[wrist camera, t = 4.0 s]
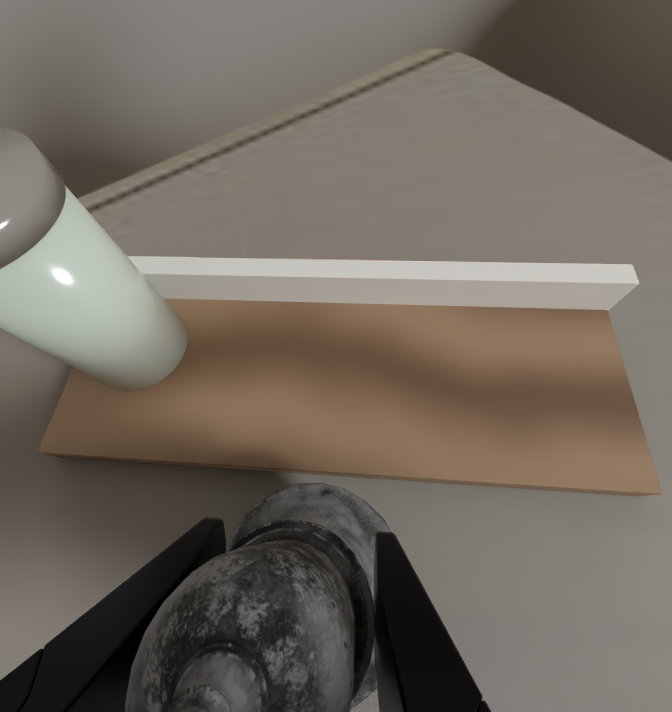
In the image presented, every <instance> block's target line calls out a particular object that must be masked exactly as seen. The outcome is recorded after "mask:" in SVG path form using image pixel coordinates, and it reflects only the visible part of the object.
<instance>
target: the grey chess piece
mask: <svg viewBox="0 0 672 712" xmlns="http://www.w3.org/2000/svg"><path fill="white" fill-rule="evenodd" d="M378 531H381V532H391V530H390V529H389V527H388V525H387V524H386V522H385V520H384V519H383V518H382V517H381V516H380V515H379V514H378V513H377V512H376V511H375V510H374V509H373V508H372V507H371V506H370V505H369V504H368V503H367V502H366V501H365V500H363V499H361V498H360V497H358V496H356V495H354V494H353V493H351V492H349V491H347V490H346V489H344V488H340V487H336V486H332V485H328V484H324V483H307V484H296V485H293V486H290V487H287V488H284V489H281V490H277V491H275V492H274V493H272V494H271V495H269V496H267V497H266V498H264V499H263V500H261V501H260V502H258V503H256V504H255V505H254V506H253V507H252V508H251V509H250V510H249V511H248V512H247V514H246V515H245V516H244V517H243V518H242V519H241V520H240V521H239V522H238V523H237V525H236V526H235V528H234V530H233V532H232V533H231V535H230V537H229V538H228V540H227V542H226V553H224V554H221V555H218V556H216V557H214V558H213V559H211V560H210V561H208V562H207V563H205V564H204V565H202V566H201V567H199V568H198V569H196V570H195V571H193V572H192V573H191V574H190V575H189V576H188V577H187V578H186V579H185V580H184V581H183V582H182V583H181V584H180V585H179V586H178V587H177V588H176V589H175V590H174V591H173V593H172V594H171V595H170V596H169V597H168V598H167V599H166V600H165V601H164V602H163V604H162V605H161V607H160V608H159V610H158V612H157V613H156V615H155V616H154V618H153V620H152V621H151V623H150V625H149V626H148V628H147V629H146V631H145V633H144V636H143V638H142V641H141V644H140V646H139V649H138V651H137V654H136V657H135V659H134V662H133V664H132V668H131V673H130V679H129V684H128V690H127V695H126V701H125V712H349V711H350V710H352V709H353V708H354V707H355V706H357V705H358V704H359V703H360V702H362V701H363V700H364V699H365V698H367V697H368V696H369V695H370V694H372V693H373V692H374V691H375V690H376V689H377V678H376V667H375V656H374V637H375V614H374V552H375V536H376V533H377V532H378Z"/></svg>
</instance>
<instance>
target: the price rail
mask: <svg viewBox="0 0 672 712" xmlns="http://www.w3.org/2000/svg"><path fill="white" fill-rule="evenodd" d="M127 257H128V258H129V259H130V260H131V262H132V263H133V264H134V265H135V266H136V267H137V268H138V270H139V271H140V272H141V273H142V274H143V275H144V276H145V278H146V279H147V280H148V281H149V282H150V283H151V284H152V286H153V287H154V288H155V289H156V290H157V291H158V292H159V294H160V295H161V296H162V297H163V298H168V299H206V300H244V301H282V302H320V303H358V304H396V305H435V306H473V307H511V308H549V309H587V310H607V311H608V310H609V309H610V308H612V307H613V306H614V305H615V304H616V303H617V302H619V301H620V300H621V299H622V298H623V297H624V296H626V295H627V294H628V293H629V292H630V291H631V290H633V289H634V288H635V287H636V286H637V285H638V284H639V281H638V279H637V276H636V273H635V270H634V268H633V265H627V264H564V263H501V262H438V261H395V260H343V259H248V258H196V257H152V256H127Z"/></svg>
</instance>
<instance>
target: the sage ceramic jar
mask: <svg viewBox="0 0 672 712" xmlns="http://www.w3.org/2000/svg"><path fill="white" fill-rule="evenodd" d="M0 328H1V329H3V330H5V331H7V332H8V333H10V334H12V335H14V336H16V337H18V338H19V339H21V340H23V341H25V342H27V343H29V344H31V345H32V346H34V347H36V348H38V349H40V350H42V351H43V352H45V353H47V354H49V355H51V356H53V357H54V358H56V359H58V360H60V361H62V362H64V363H66V364H67V365H69V366H71V367H73V368H75V369H77V370H78V371H80V372H82V373H84V374H86V375H88V376H89V377H91V378H93V379H95V380H97V381H99V382H100V383H102V384H104V385H106V386H108V387H110V388H112V389H115V390H119V391H137V390H142V389H145V388H148V387H150V386H152V385H154V384H156V383H158V382H160V381H161V380H163V379H164V378H165V377H167V376H168V375H169V374H170V373H171V372H172V371H173V370H174V369H175V368H176V366H177V365H178V364H179V362H180V361H181V359H182V357H183V355H184V353H185V350H186V347H187V341H188V334H187V329H186V326H185V324H184V322H183V320H182V319H181V318H180V316H179V315H178V314H177V313H176V312H175V311H174V310H173V308H172V307H171V306H170V305H169V304H168V303H167V302H166V300H165V299H164V298H163V297H162V296H161V295H160V294H159V292H158V291H157V290H156V289H155V288H154V287H153V286H152V284H151V283H150V282H149V281H148V280H147V279H146V278H145V276H144V275H143V274H142V273H141V272H140V271H139V270H138V268H137V267H136V266H135V265H134V264H133V263H132V262H131V260H130V259H129V258H128V257H127V256H126V255H125V254H124V252H123V251H122V250H121V249H120V248H119V247H118V246H117V244H116V243H115V242H114V241H113V240H112V239H111V238H110V236H109V235H108V234H107V233H106V232H105V231H104V230H103V228H102V227H101V226H100V225H99V224H98V223H97V222H96V220H95V219H94V218H93V217H92V216H91V215H90V214H89V212H88V211H87V210H86V209H85V208H84V207H83V206H82V204H81V203H80V202H79V201H78V200H77V199H76V198H75V196H74V195H73V194H72V193H71V192H70V191H69V190H68V188H67V187H66V186H65V183H64V181H63V179H62V177H61V176H60V174H59V173H58V172H57V171H56V169H55V168H54V167H53V166H52V165H51V164H50V162H49V161H48V160H47V159H46V158H45V157H44V155H43V154H42V153H41V152H40V151H39V150H38V149H37V147H36V146H35V145H34V144H33V143H32V142H31V140H30V139H29V138H27V137H26V136H25V135H23V134H22V133H20V132H18V131H14V130H12V129H7V128H1V127H0Z"/></svg>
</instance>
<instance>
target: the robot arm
mask: <svg viewBox="0 0 672 712" xmlns="http://www.w3.org/2000/svg"><path fill="white" fill-rule="evenodd" d="M224 553H226V538H225V530H224V523H223V521H222V520H221V519H218V518H205V519H203V520H201V521H200V522H199V523H198V524H196V525H195V526H194V527H193V528H191V529H190V530H189V531H188V532H186V533H185V534H184V535H183V536H181V537H180V538H179V539H178V540H176V541H175V542H174V543H173V544H171V545H170V546H169V547H168V548H166V549H165V550H164V551H163V552H161V553H160V554H159V555H157V556H156V557H155V558H154V559H152V560H151V561H150V562H149V563H147V564H146V565H145V566H144V567H142V568H141V569H140V570H139V571H137V572H136V573H135V574H134V575H132V576H131V577H130V578H129V579H127V580H126V581H125V582H124V583H122V584H121V585H120V586H119V587H117V588H116V589H115V590H114V591H112V592H111V593H110V594H109V595H107V596H106V597H105V598H104V599H102V600H101V601H100V602H99V603H97V604H96V605H95V606H94V607H92V608H91V609H90V610H89V611H87V612H86V613H85V614H84V615H82V616H81V617H80V618H79V619H77V620H76V621H75V622H74V623H72V624H71V625H70V626H69V627H67V628H66V629H65V630H64V631H62V632H61V633H60V634H59V635H57V636H56V637H55V638H53V639H52V640H51V641H50V642H48V643H47V644H46V645H45V647H44V650H43V649H40V650H38V651H37V652H36V653H34V654H33V655H32V656H31V657H29V658H28V659H27V660H26V661H24V662H23V663H22V664H21V665H19V666H18V667H17V668H16V669H14V670H13V671H12V672H10V673H9V674H8V675H7V676H5V677H4V678H3V679H1V680H0V712H125V701H126V695H127V690H128V684H129V679H130V673H131V668H132V664H133V662H134V659H135V657H136V654H137V651H138V649H139V646H140V644H141V641H142V638H143V636H144V633H145V631H146V629H147V628H148V626H149V625H150V623H151V621H152V620H153V618H154V616H155V615H156V613H157V612H158V610H159V608H160V607H161V605H162V604H163V602H164V601H165V600H166V599H167V598H168V597H169V596H170V595H171V594H172V593H173V591H174V590H175V589H176V588H177V587H178V586H179V585H180V584H181V583H182V582H183V581H184V580H185V579H186V578H187V577H188V576H189V575H190V574H191V573H192V572H193V571H195V570H196V569H198V568H199V567H201V566H202V565H204V564H205V563H207V562H208V561H210V560H211V559H213V558H214V557H216V556H218V555H221V554H224ZM374 614H375V637H374V656H375V667H376V678H377V689H378V699H379V710H380V712H491V711H490V709H489V707H488V705H487V703H486V702H485V701H482V694H481V692H480V691H479V689H478V687H477V685H476V683H475V681H474V680H473V678H472V676H471V674H470V672H469V670H468V668H467V667H466V665H465V663H464V661H463V659H462V657H461V656H460V654H459V652H458V650H457V648H456V646H455V645H454V643H453V641H452V639H451V637H450V635H449V633H448V632H447V630H446V628H445V626H444V624H443V622H442V621H441V619H440V617H439V615H438V613H437V611H436V609H435V608H434V606H433V604H432V602H431V600H430V598H429V597H428V595H427V593H426V591H425V589H424V587H423V585H422V584H421V582H420V580H419V578H418V576H417V574H416V573H415V571H414V569H413V567H412V565H411V563H410V561H409V560H408V558H407V556H406V554H405V552H404V550H403V549H402V547H401V545H400V543H399V541H398V539H397V537H396V536H395V534H394V533H392V532H381V531H378V532H377V533H376V536H375V552H374Z"/></svg>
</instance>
